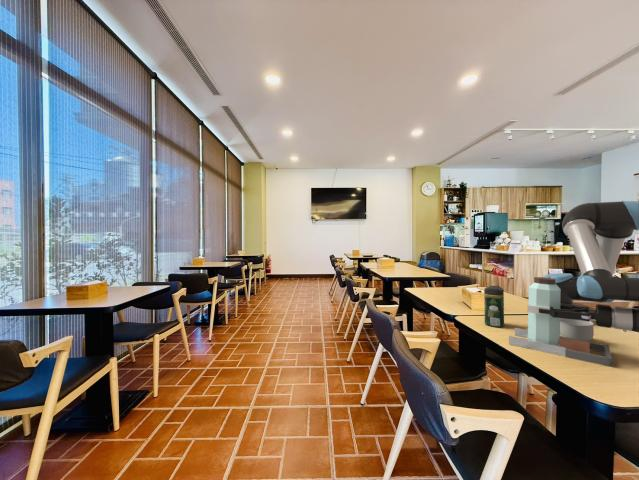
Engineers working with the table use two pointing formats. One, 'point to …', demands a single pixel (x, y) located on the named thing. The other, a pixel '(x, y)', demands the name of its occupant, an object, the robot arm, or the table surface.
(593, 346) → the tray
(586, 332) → the teacup
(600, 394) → the table surface
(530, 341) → the slot rails
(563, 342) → the block
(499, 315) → the coffee jar
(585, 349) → the block
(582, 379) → the table surface
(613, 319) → the robot arm
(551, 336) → the water bottle
